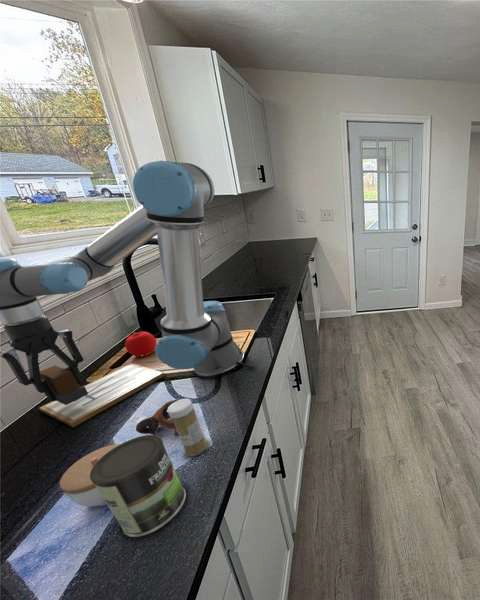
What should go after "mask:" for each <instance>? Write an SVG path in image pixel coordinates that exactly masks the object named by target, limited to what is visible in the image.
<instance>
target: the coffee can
mask: <svg viewBox="0 0 480 600" xmlns="http://www.w3.org/2000/svg"><path fill="white" fill-rule="evenodd" d="M119 444H120V445H118V446H117V447H115V448H113V449H112V450H110V451H109V452H108V453H106V454H105V455H104V456H103V457H101V458H100V459H99V460H98V461H97V462H96V464H95V465H94V466H93V468H92V470H91V472H90V479H91V481H92V482H93V483H94V484H95V485H96V487H97V488H98V490H99V491H100V493H101V495H102V496H103V498H104V500H105V501H106V503H107V504H106V505H107V507H108V508H109V509H110V511H111V513H112V514H113V516H114V517H115V519H116V521H117V523H118V524H119V526H120V527H121V529H122V532H123V534H124V535H126V536H127V537H131V538H139V537H145V536H146V535H150V534H152V533H154V532H156V531H159V530H160V529H161V528H163V527H164V526H165V525H167V524H168V523H169V522H170V521H172V520H173V518H174V517H175V516H177V514H178V513H179V512H180V511H181V509H182V508H183V506H184V504H185V502H186V497H187V493H186V489H185V488H184V486H183V484H182V482H181V480H180V478H179V476H178V473H177V471H176V469H175V466H174V465H173V463H172V460H171V457H170V456H169V453H168V452H167V449H166V447H165V443H164V441H163V439H162V437H160V436H159V435H157V434H156V435H152V434H144V435H140V436H136V437H134V438H131V439H128V440H126V441H125V442H122V443H119Z"/></svg>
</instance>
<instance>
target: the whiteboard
mask: <svg viewBox="0 0 480 600" xmlns="http://www.w3.org/2000/svg"><path fill="white" fill-rule="evenodd" d="M164 377H165V374H164V372H163V371H159V370H155V369H153V368H149V367H146V366H143V365H139V364H136V363H134V362H131V363H128V364H127V365H124V366H123V367H120V368H117V369H116V370H114V371H112V372H110V373H108V374H106V375H104V376H102V377H100V378H98V379H95V380H94V381H91V382H90V383H87V384H85V385H83V386H84V387H85V388H86V390H87V392H88V394H87V395H85V396H83V397H81V398H79V399H77V400H75V401H73V402H71V403H69V404H67V405H64V404H62V403H60V402H58V401H50V402H48V403H46V404H44V405H42V406H40V407H38V409H39V410H40V412H42V413H44V414H45V415H48V416H50V417H52V418H54V419H56V420H58V421H59V422H62V423H63V424H65V425H67V426H70V427H71V428H75V427H76V426H79V425H80V424H82V423H83V422H85V421H87V420H89V419H91V418H93V417H94V416H97V415H98V414H100V413H102V412H103V411H106V410H107V409H109V408H111V407H112V406H114V405H116V404H117V403H119V402H121V401H123V400H124V399H126V398H128V397H130V396H132V395H133V394H136V393H137V392H139V391H141V390H142V389H144V388H146V387H148V386H150V385H152V384H153V383H155V382H157V381H159V380H160V379H162V378H164Z"/></svg>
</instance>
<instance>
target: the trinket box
mask: <svg viewBox="0 0 480 600" xmlns="http://www.w3.org/2000/svg"><path fill="white" fill-rule="evenodd" d="M120 444H121V443H115V444H110V445H105V446H104V447H100V448H98V449H96V450H93V451H92V452H90V453H88V454H85V456H83V457H81V458H80V459H78V460H77V461H76V462H74V463H73V464H72V465H71V466H69V468H68V469H67V470H66V471H65V472H64V473H63V474H62V476H61V478H60V479H59V487H60V489H61V491H62V492H63V493H65V495H66V496H67V497H68V498H69V499H70V500H71V501H72V502H74V503H75V504H76V505H78V506H79V505H80V506H82V507H90V508H91V507H102V506H106V505H107V503H106V501H105V500H104V498H103V496H102V495H101V493H100V491H99V490H98V488H97V487H96V485H95V484H94V483H93V482H92V481H91V479H90V472H91V470H92V468H93V466H94V465H95V464H96V462H97V461H98V460H99V459H100V458H101V457H103V456H104V455H105V454H106V453H108V452H109V451H110V450H112V449H113V448H115V447H117V446H118V445H120Z"/></svg>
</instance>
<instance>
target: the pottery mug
mask: <svg viewBox="0 0 480 600" xmlns="http://www.w3.org/2000/svg"><path fill="white" fill-rule="evenodd" d="M178 400H181V399H179V398H178V399H174V400H170V401H168V402H166V403H164V404H163V405H162V406H161V407H160V408H158V409H157V410H156V411H155V413H154V414H153V416H150V417H147V418H144V419H142V420H140V421H139V422H138V423H137V424H136V427H135V431H136V432H138V433H139V434H142V435H156V436H157V431H158V428H159V427H160V426H161V427H162V428H165V429H168V430H174V434H173V436H174V437H179V435H178V433H177V430H176V427H175V425H174V422H173V420H170V419H172V418H171V417H170V416H169V414H168V411H167V410H168V407H169V406H170V405H171V404H172V403H174V402H176V401H178ZM193 409H194V412H195V413H196V410H195V408H194V407H193Z"/></svg>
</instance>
